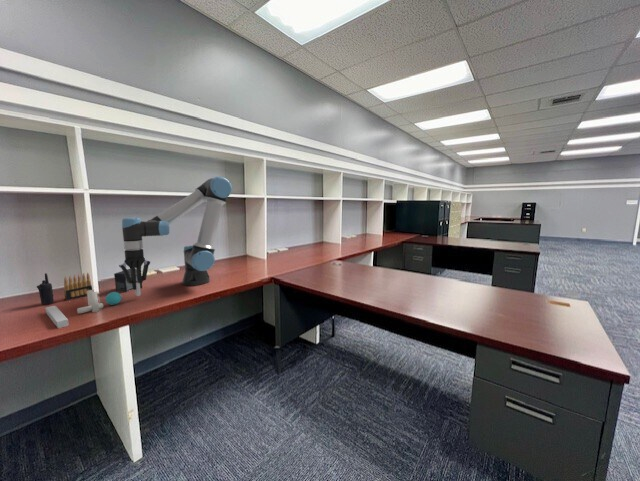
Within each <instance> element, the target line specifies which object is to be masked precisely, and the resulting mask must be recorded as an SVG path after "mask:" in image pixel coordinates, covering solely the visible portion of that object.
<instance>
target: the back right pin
mask: <svg viewBox="0 0 640 481" xmlns="http://www.w3.org/2000/svg"><path fill="white" fill-rule="evenodd" d="M92 292H95V290H94V289H92V290H88V291H87V296H86V297H87V304H88V305H87V306H90V305H91V298H90V293H92Z"/></svg>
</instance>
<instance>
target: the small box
mask: <svg viewBox="0 0 640 481" xmlns="http://www.w3.org/2000/svg"><path fill="white" fill-rule="evenodd" d="M126 269H127V268H126ZM127 271H128V273H129V276H130V278H131V271H130V268H128V269H127ZM135 274H136V282H138V281H137V270H136V268H135ZM113 276H114V284H115V292H116V291H123V292H122V293H127V291H128V292H129V290H130V291H132V290H133V288H132V283H128V282H127V280H126V278H125V275H124V273H123V270H122V271H118V272H116V273H113Z"/></svg>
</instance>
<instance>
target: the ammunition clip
mask: <svg viewBox="0 0 640 481" xmlns="http://www.w3.org/2000/svg"><path fill="white" fill-rule="evenodd" d="M68 277H69V278H67V276H65V277H64V279H63V281H64V285H63V286H64V301H66V302H67V301H71V299H72V300H76V299H80V297H81V298H85V297H87V291H88V290H93V286H92V280H91V277H90V274H89V272H87V273H86V275H85V273H82V274H81V275H80V274H78V275H77V276H76V275H75V274H73V278H72V276H71V275H69V276H68Z"/></svg>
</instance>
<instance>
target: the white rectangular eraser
mask: <svg viewBox="0 0 640 481" xmlns="http://www.w3.org/2000/svg"><path fill="white" fill-rule="evenodd" d="M45 314H46V315H47V316H48V317H49V319H50V320H51V321H52V322H53V324H54V325H55V326H56V328H57V329H61V328H64V327H68V326H69V318H67V317H66V316H65V314H64V313H63V312H62V311H61V310H60V309H59V308H58V307H57V305H52V306H47V307H45Z"/></svg>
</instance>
